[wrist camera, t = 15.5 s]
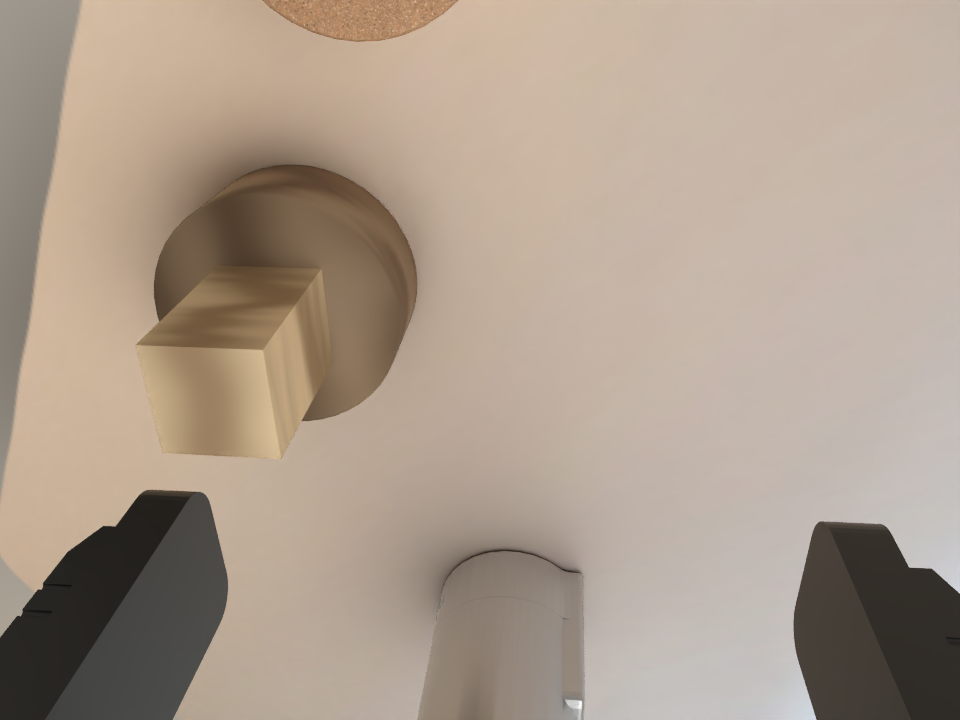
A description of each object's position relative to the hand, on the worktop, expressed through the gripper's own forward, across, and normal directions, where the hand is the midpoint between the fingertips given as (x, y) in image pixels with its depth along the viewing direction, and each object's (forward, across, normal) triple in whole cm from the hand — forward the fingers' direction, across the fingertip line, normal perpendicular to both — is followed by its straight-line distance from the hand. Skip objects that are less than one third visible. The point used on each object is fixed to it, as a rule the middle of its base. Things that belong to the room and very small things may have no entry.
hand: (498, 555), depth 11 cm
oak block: (+25, +13, +9) cm, 30 cm away
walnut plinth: (+30, +13, +9) cm, 34 cm away
